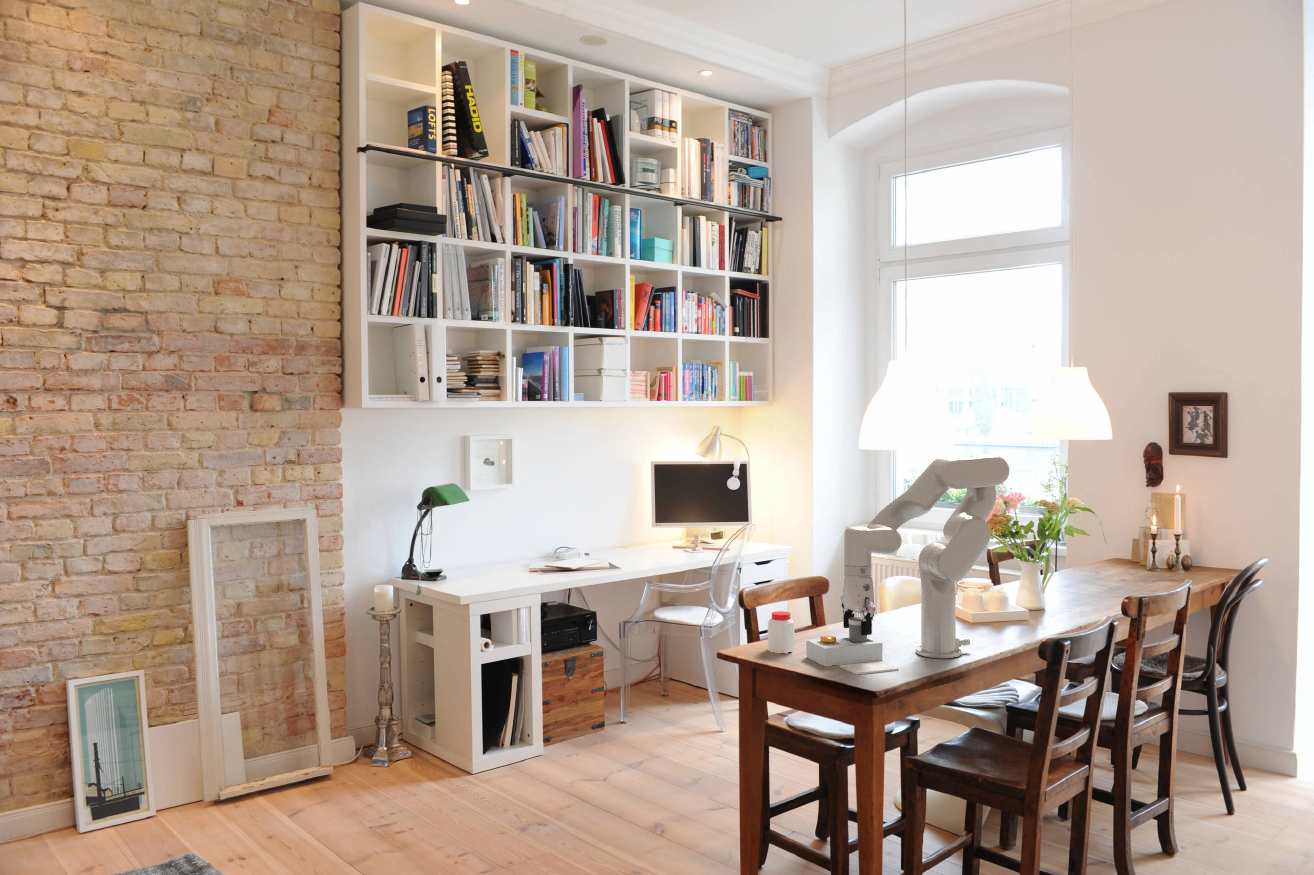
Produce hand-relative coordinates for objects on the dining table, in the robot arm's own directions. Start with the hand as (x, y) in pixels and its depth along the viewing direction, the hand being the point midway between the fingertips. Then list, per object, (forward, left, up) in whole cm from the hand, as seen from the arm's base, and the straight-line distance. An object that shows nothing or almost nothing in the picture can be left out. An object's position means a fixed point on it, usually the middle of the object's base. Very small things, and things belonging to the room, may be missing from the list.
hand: (857, 631), depth 287 cm
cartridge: (0, 0, -8) cm, 8 cm away
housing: (+4, 0, -7) cm, 9 cm away
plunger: (+9, 0, -7) cm, 12 cm away
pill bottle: (+16, -15, -8) cm, 24 cm away
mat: (+3, +12, -7) cm, 14 cm away
